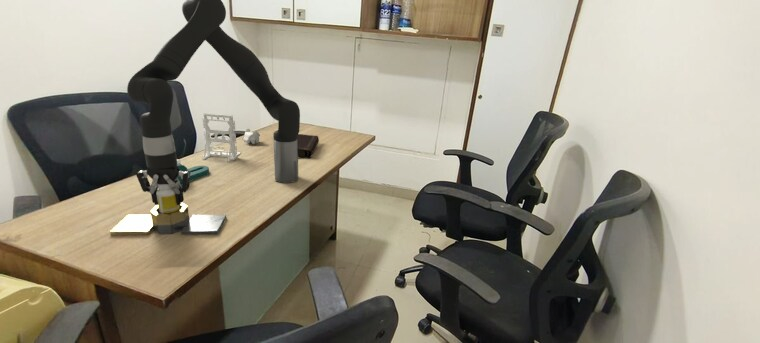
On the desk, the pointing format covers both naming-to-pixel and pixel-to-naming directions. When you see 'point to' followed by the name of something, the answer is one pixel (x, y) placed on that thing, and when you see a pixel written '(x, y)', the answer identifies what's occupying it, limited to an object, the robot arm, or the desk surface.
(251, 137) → the elephant figurine
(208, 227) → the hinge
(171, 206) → the supplement bottle
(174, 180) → the robot arm
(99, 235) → the desk surface
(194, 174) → the bracket
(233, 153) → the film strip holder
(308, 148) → the diary
